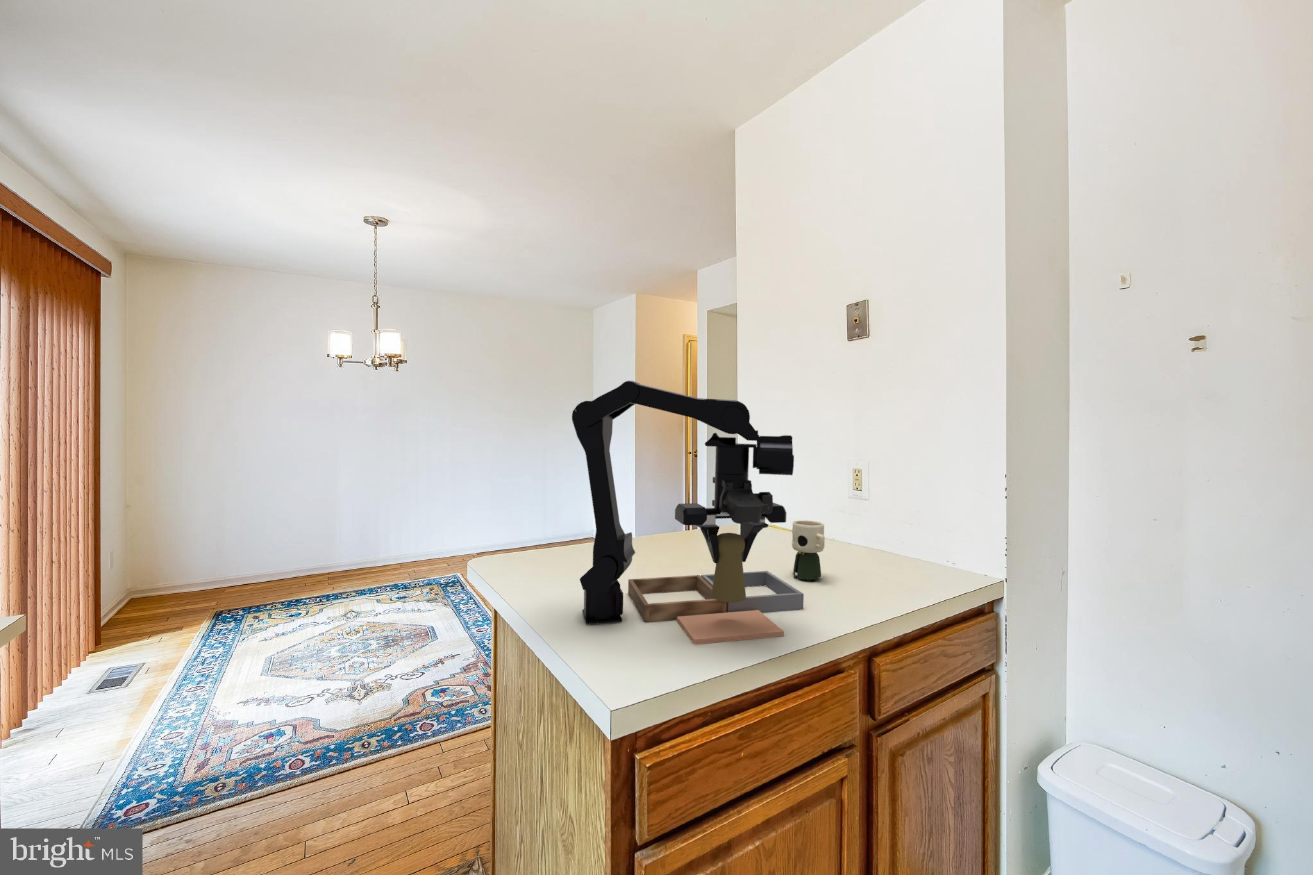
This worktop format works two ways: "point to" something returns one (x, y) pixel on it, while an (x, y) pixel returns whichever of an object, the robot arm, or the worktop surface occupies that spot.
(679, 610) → the walnut bin
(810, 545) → the character mug
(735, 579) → the cork
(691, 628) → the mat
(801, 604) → the charcoal bin
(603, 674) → the worktop surface
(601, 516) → the robot arm
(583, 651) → the worktop surface
